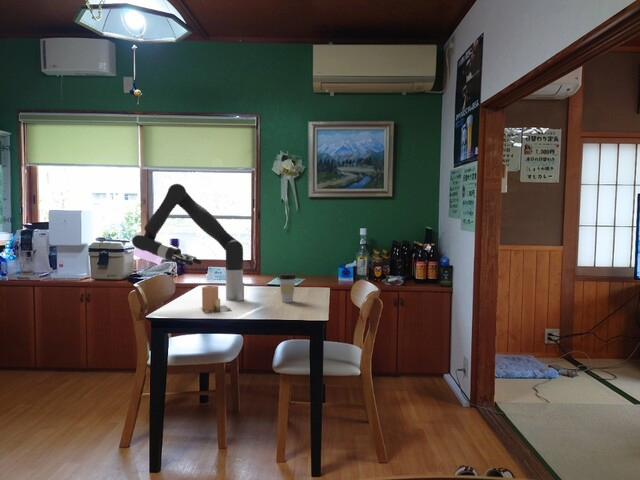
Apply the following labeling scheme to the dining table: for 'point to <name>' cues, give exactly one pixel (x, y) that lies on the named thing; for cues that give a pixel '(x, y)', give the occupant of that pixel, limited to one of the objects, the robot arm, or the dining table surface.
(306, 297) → the dining table surface
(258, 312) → the dining table surface
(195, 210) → the robot arm
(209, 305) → the sleeve
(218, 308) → the post plate
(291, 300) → the coffee cup
